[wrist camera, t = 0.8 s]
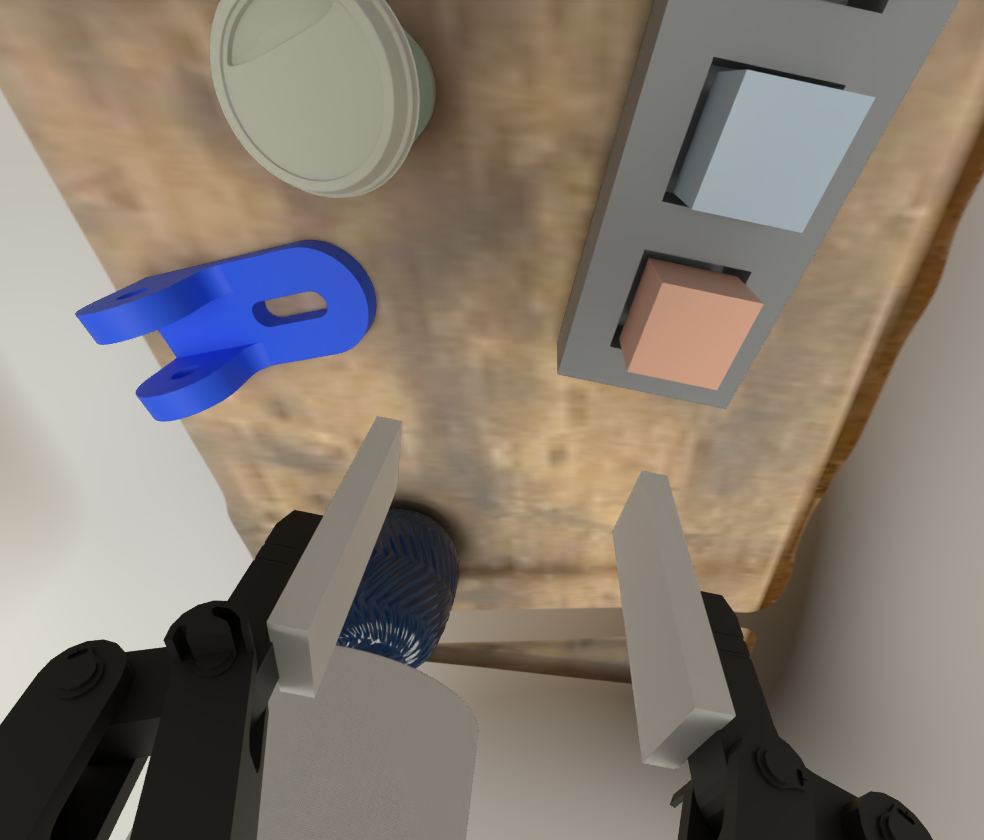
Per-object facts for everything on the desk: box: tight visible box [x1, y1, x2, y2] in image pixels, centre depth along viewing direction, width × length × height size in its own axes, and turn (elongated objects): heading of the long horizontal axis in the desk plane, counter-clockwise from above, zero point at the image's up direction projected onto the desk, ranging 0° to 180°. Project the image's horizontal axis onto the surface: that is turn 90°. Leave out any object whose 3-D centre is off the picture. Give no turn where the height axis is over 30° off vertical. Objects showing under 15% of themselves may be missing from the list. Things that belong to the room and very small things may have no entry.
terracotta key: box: [619, 258, 764, 390], centre depth 28 cm, size 5×5×4 cm
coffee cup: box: [209, 0, 436, 198], centre depth 24 cm, size 8×9×12 cm
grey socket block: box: [557, 0, 959, 409], centre depth 26 cm, size 30×12×5 cm, turn 170°
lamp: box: [126, 508, 479, 840], centre depth 37 cm, size 20×20×37 cm
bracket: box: [75, 240, 376, 421], centre depth 34 cm, size 18×8×9 cm, turn 103°
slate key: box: [673, 70, 876, 233], centre depth 23 cm, size 5×5×4 cm
